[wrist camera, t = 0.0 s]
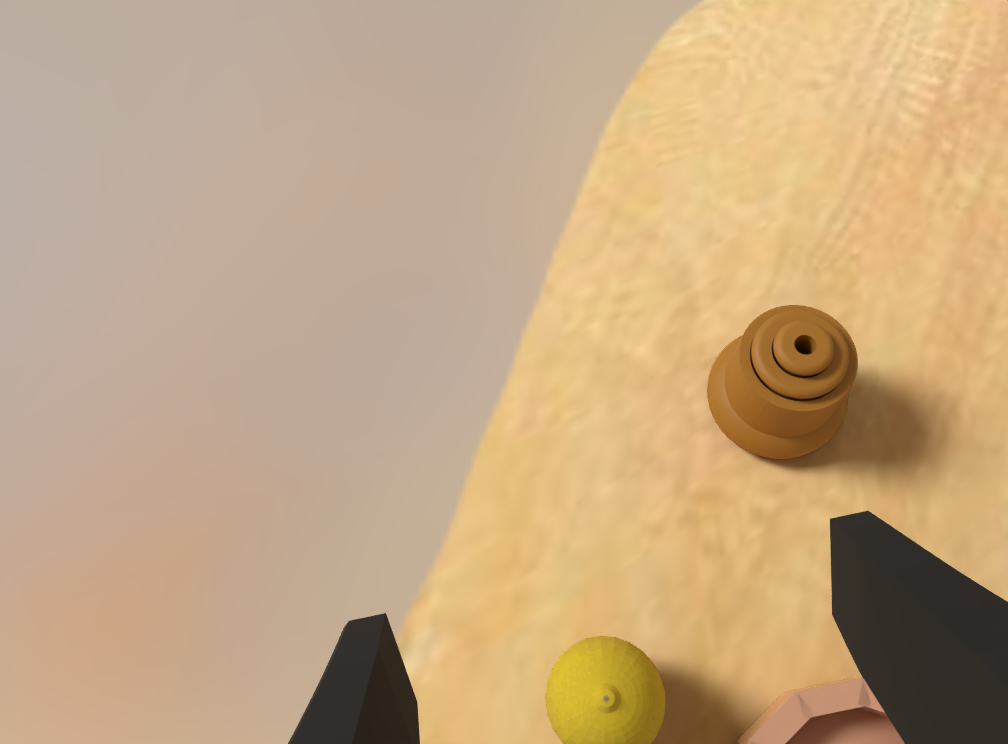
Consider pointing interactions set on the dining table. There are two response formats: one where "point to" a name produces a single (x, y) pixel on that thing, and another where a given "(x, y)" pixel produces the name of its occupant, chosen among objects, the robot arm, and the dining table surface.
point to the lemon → (605, 694)
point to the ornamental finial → (784, 382)
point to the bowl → (824, 717)
